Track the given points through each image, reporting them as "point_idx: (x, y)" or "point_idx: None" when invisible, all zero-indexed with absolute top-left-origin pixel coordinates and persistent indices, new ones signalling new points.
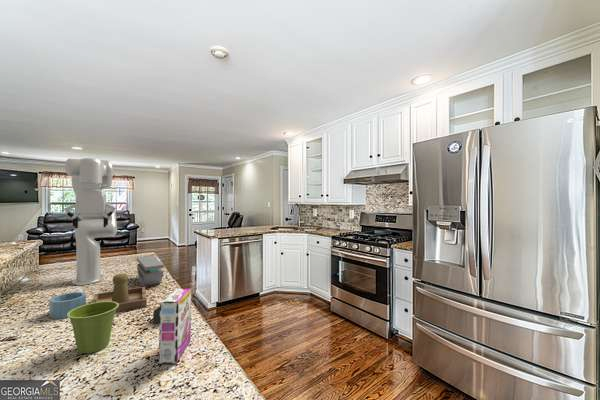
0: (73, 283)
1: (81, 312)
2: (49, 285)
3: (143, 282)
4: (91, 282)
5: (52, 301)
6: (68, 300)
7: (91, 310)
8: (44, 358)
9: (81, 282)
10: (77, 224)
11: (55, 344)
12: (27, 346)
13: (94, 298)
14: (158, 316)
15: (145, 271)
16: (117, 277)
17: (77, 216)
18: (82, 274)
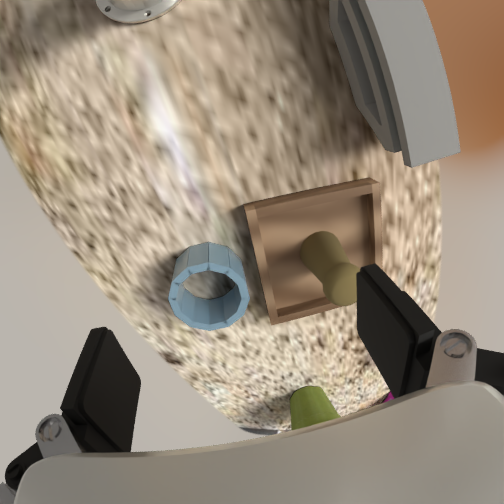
0: (104, 14)
1: (299, 427)
2: (40, 18)
3: (369, 123)
4: (163, 13)
5: (186, 322)
6: (223, 324)
7: (310, 419)
8: (256, 407)
9: (130, 15)
10: (119, 382)
11: (253, 385)
12: (215, 383)
13: (259, 255)
14: None
15: (393, 115)
16: (341, 305)
17: (83, 447)
18: (124, 1)
